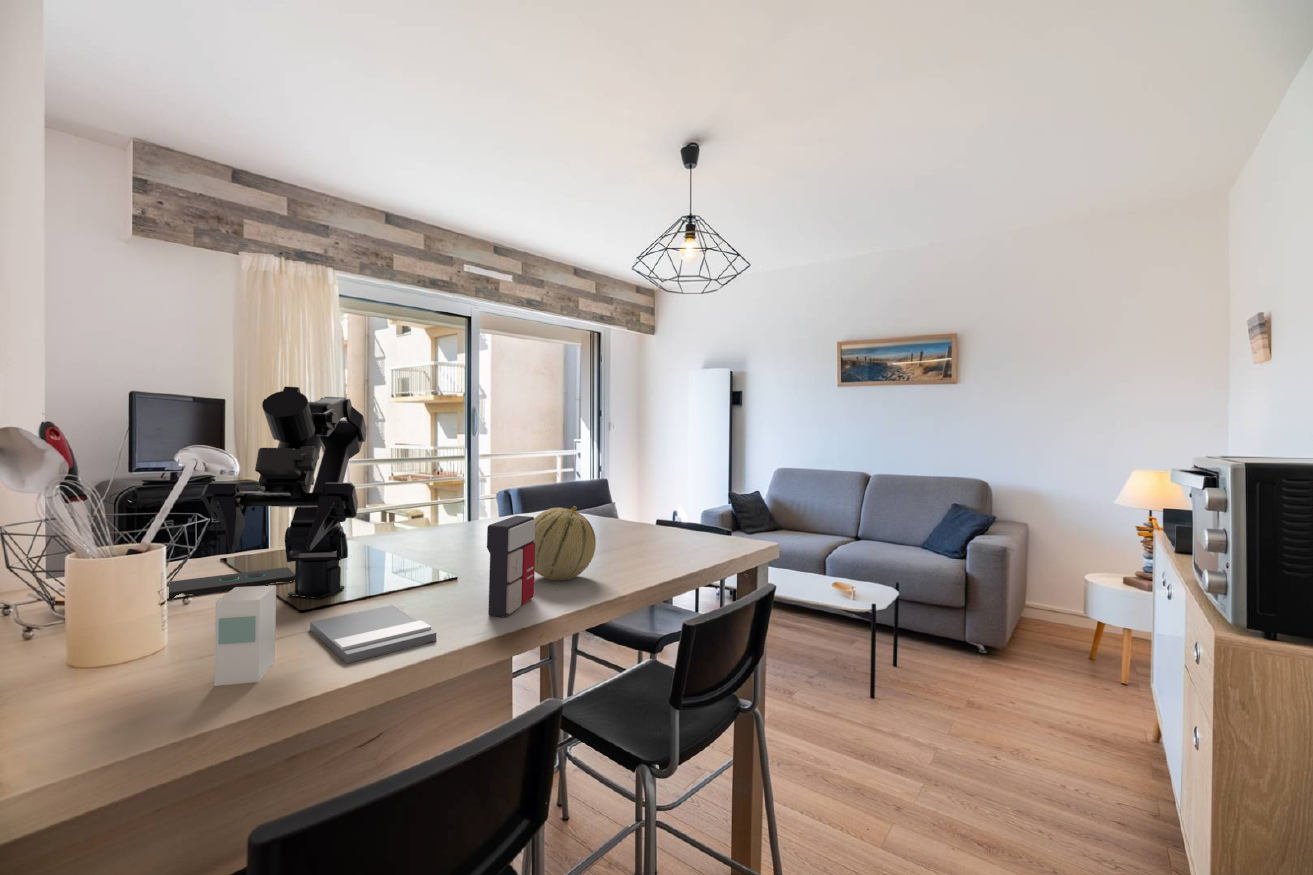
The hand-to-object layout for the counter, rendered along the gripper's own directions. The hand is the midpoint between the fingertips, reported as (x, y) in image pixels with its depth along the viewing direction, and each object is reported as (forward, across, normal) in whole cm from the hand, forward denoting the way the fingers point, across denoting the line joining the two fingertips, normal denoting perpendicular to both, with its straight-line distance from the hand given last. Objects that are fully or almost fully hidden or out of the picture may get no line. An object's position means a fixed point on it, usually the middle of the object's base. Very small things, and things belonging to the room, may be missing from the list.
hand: (270, 550), depth 79 cm
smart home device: (-14, -16, +34) cm, 39 cm away
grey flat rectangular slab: (+8, +13, +11) cm, 19 cm away
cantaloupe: (-9, +44, +28) cm, 53 cm away
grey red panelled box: (+2, +33, +17) cm, 37 cm away
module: (+15, 0, +4) cm, 16 cm away
